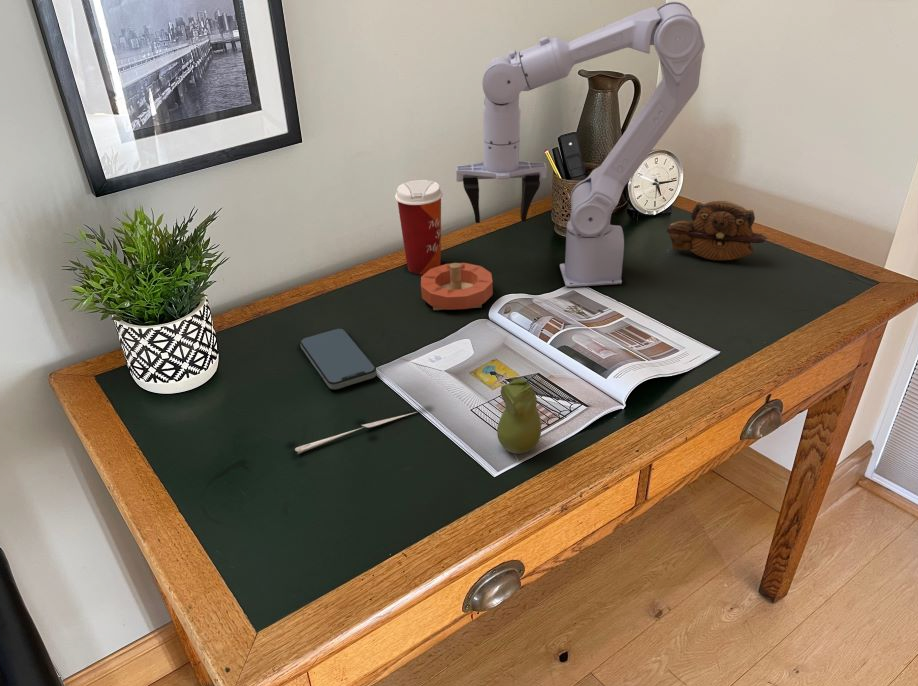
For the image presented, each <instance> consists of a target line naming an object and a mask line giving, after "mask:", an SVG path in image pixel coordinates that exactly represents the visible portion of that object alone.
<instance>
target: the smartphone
mask: <svg viewBox="0 0 918 686" xmlns="http://www.w3.org/2000/svg"><path fill="white" fill-rule="evenodd" d="M299 345H300V348H301V350H302V351H303V353H304V354H305V356H306V357H307V358H308V360H309V361H310V363H311V365H312V366H313V367H314V368H315V370H316V372H317V373H318V374H319V376H320V377H321V379H322V380H323V381H324V383H325V384H326V386H327V388H329V389H330V390H339V389H342V388H345V387H348V386H352V385H355V384H358V383H361V382H364V381H368V380H371V379H373V378H375V377H377V375H378V372H377V371H378V370H377V367H376V366H375V365H374V364H373V362H372V361H371V360H370V358H369V357H368V356H367V355H366V354H365V353H364V351H363V350H362V349H361V348H360V347H359V345H358V344H357V343H356V342H355V341H354V340H353V338H352V337H351V336H350V334H349V333H348V331H346V330H345V329H344V328H343V329H342V328H336V329H332V330H328V331H325V332H321V333H318V334H315V335H314V334H313V335H311V336H307V337H304V338H303V339H301V340H300V341H299Z"/></svg>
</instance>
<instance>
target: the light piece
mask: <svg viewBox="0 0 918 686" xmlns="http://www.w3.org/2000/svg"><path fill="white" fill-rule="evenodd" d="M416 413H417V411H414V412H411V413H406V414H402V415H398V416H393V417H390V418H389V417H388V418H385V419H380V420H377V421H373V422H368V423H365V424H361V426H362V427H359V428H357V429H353V430H349V431H346V432H343V433H340V434H337V435H332V436H328V437H327V438H326V437H325V438H323V439H319V440H317V441H313V442H310V443H307V444H303V445H299V446H298V447H297V446H296V447H295V448H294V451H295V452H297V453H296V454H297V455H300V454H302V453H304V452H307V451H309V450H311V449H314V448H317V447H320V446H321V445H324V444H327V443H329V442H332V441H334V440H336V439H339V438H342V437H344V436H347V435H349V434H351V433H355V432H356V431H358V430H359V431H360V430H362V429H364V428H368V429H369V428H370V429H371V428H374V427H376V426H380V425H382V424H385V423H388V422H392V421H394V420H397V419H400V418H403V417H407V416H409V415H413V414H416Z"/></svg>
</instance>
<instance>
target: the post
mask: <svg viewBox="0 0 918 686" xmlns="http://www.w3.org/2000/svg"><path fill="white" fill-rule="evenodd" d="M459 263H460V262H452V263H449V264H450V281H451V282H450V283H447V284H444V285H441V286H440V287H441V288H445V289H450V290H458V289H465V288H468V287H471V286H473V284H470V283H466V282H461V265H460V264H459ZM481 308H483V304H480V305H477V306H475V307H472V308H471V309H481ZM432 310H433V311H445V310H447V309H442V308H438V307H434V306H432ZM447 311H448V310H447Z"/></svg>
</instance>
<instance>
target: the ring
mask: <svg viewBox="0 0 918 686" xmlns="http://www.w3.org/2000/svg"><path fill="white" fill-rule="evenodd" d="M458 263H459V264H460V265H461V282H466V283H470V284H473V286H471V287H468V288H465V289H458V290H450V289H445V288H441V287H440V286H441V285H444V284H447V283H450V282H451V281H450V264H451V263H445V264H440V266H438V267H435V268H432V269H430V270H429V271H428V272H426V273H425V274H422V275H421V277H420V291H421V299H422V300H424V302H426V303H427V304H428V305H429V306H431V307H433V306H434V307H438V308H442V309H447V311H451V310H469V309H473V308H472V307H475V306H477V305H480V304H482V305H483V304H485V303H486V302H487V301H489V299H490V298H491V297H492V296H493V294H494V289H493V288H494V286H493V284H494V282H493V275H492V272H490V271H489V270H488V269H486V268H485V267H483V266H482V265H477V264H472V263H467V262H458Z"/></svg>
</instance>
